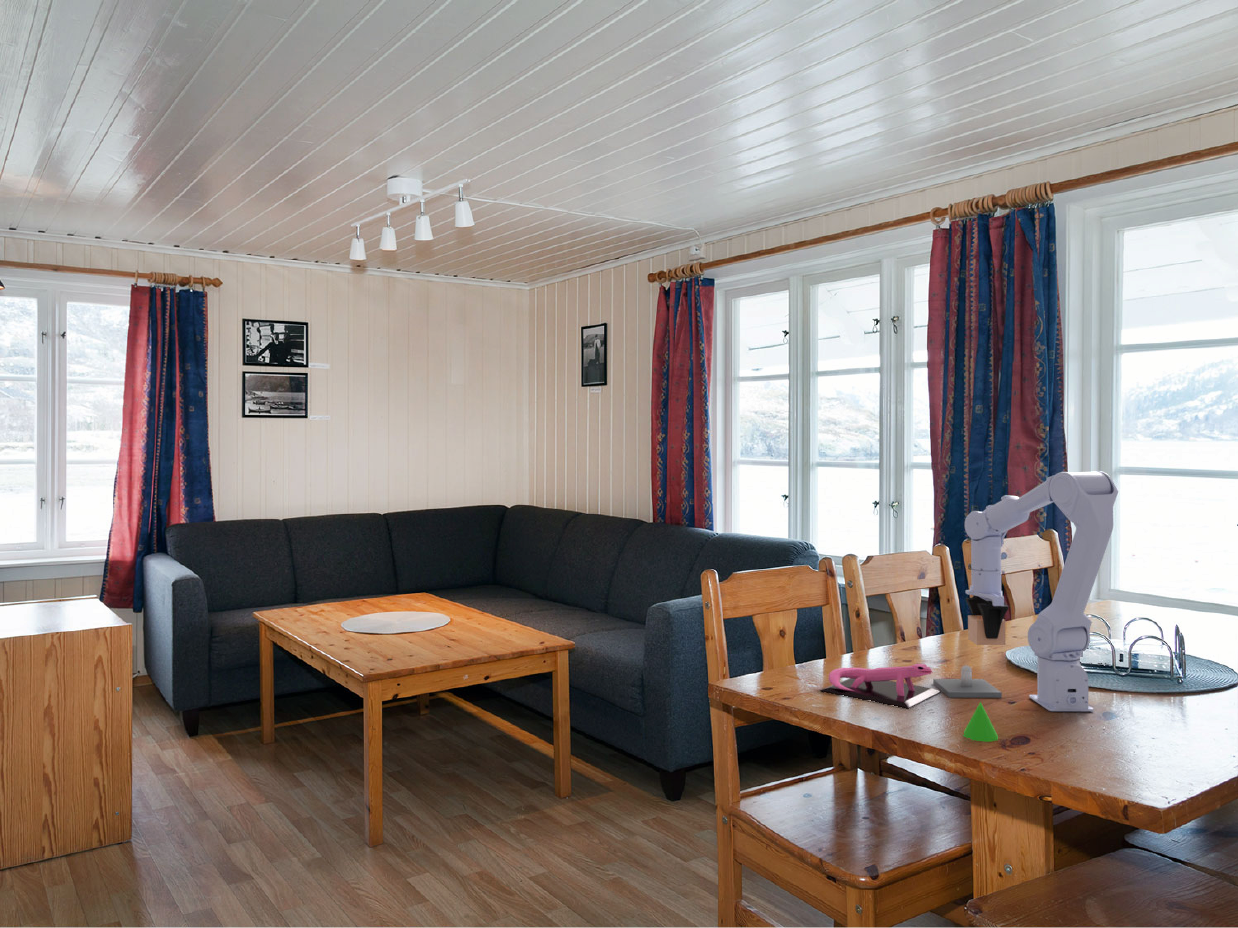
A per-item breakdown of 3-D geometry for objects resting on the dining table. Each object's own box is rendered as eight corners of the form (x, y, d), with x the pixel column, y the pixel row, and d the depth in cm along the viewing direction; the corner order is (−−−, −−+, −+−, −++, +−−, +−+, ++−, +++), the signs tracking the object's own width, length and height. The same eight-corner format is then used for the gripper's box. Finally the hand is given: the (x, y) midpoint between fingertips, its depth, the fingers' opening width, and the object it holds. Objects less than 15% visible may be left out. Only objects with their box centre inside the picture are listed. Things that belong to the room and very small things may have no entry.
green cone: (955, 737, 151) (955, 701, 151) (970, 729, 155) (970, 694, 155) (990, 745, 146) (990, 708, 146) (1005, 736, 151) (1005, 701, 151)
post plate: (1001, 697, 173) (1001, 671, 173) (948, 697, 174) (948, 671, 174) (983, 683, 183) (983, 659, 183) (933, 683, 184) (933, 659, 184)
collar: (1005, 644, 183) (1005, 620, 183) (977, 644, 183) (977, 620, 183) (995, 639, 188) (995, 615, 188) (968, 639, 189) (968, 615, 189)
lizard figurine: (915, 714, 165) (915, 674, 165) (819, 694, 179) (819, 657, 179) (948, 697, 176) (948, 659, 176) (854, 679, 190) (854, 645, 190)
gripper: (955, 564, 193) (955, 628, 193) (978, 574, 179) (978, 642, 179) (989, 564, 193) (989, 628, 193) (1014, 574, 178) (1014, 642, 178)
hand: (986, 635), depth 186 cm, fingers closed on collar, 6 cm apart
